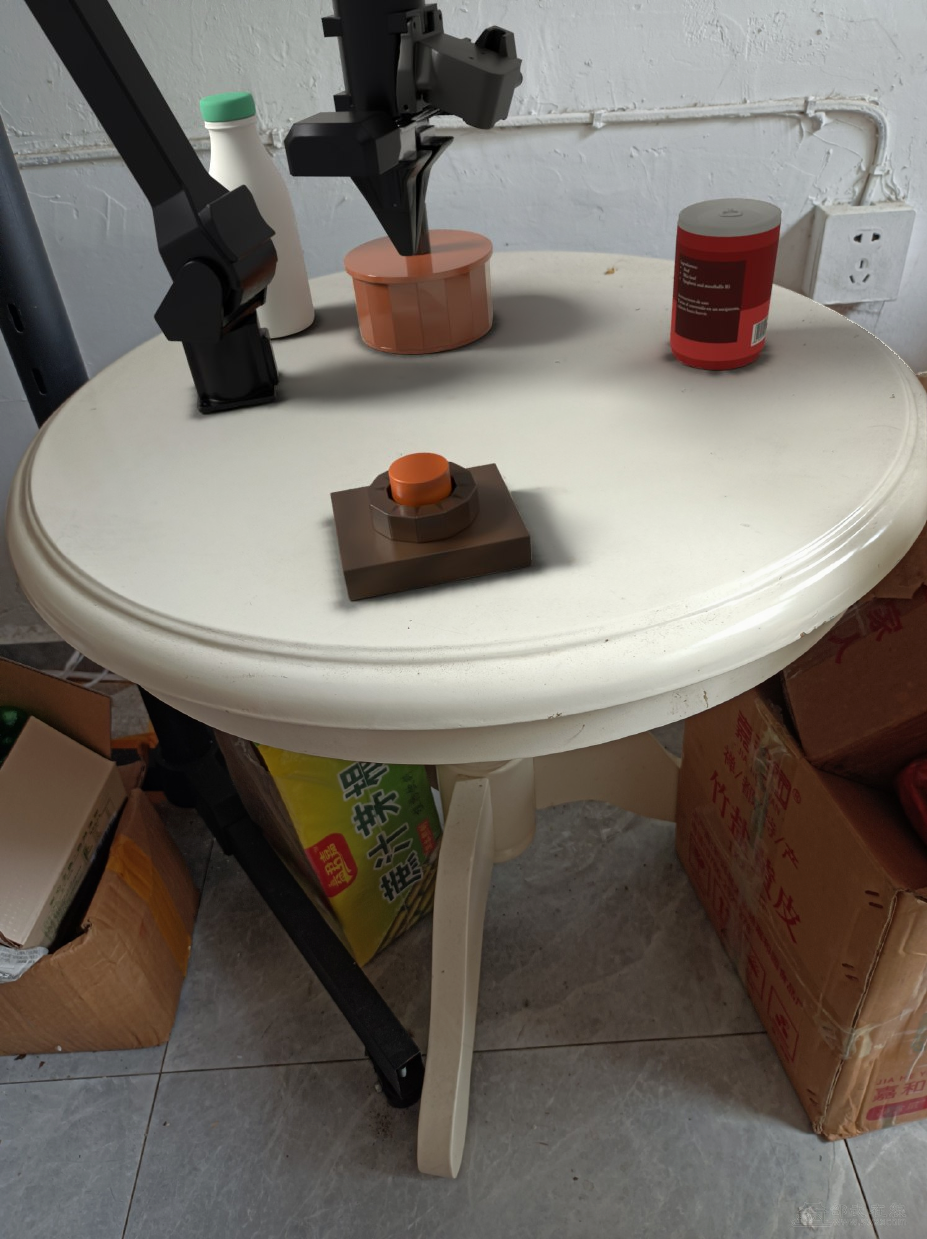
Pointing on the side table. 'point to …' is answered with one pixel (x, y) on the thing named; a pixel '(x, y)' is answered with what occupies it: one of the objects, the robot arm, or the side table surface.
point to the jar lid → (419, 257)
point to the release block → (428, 534)
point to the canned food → (723, 281)
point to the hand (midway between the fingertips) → (408, 254)
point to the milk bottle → (261, 205)
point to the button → (420, 479)
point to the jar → (425, 312)
